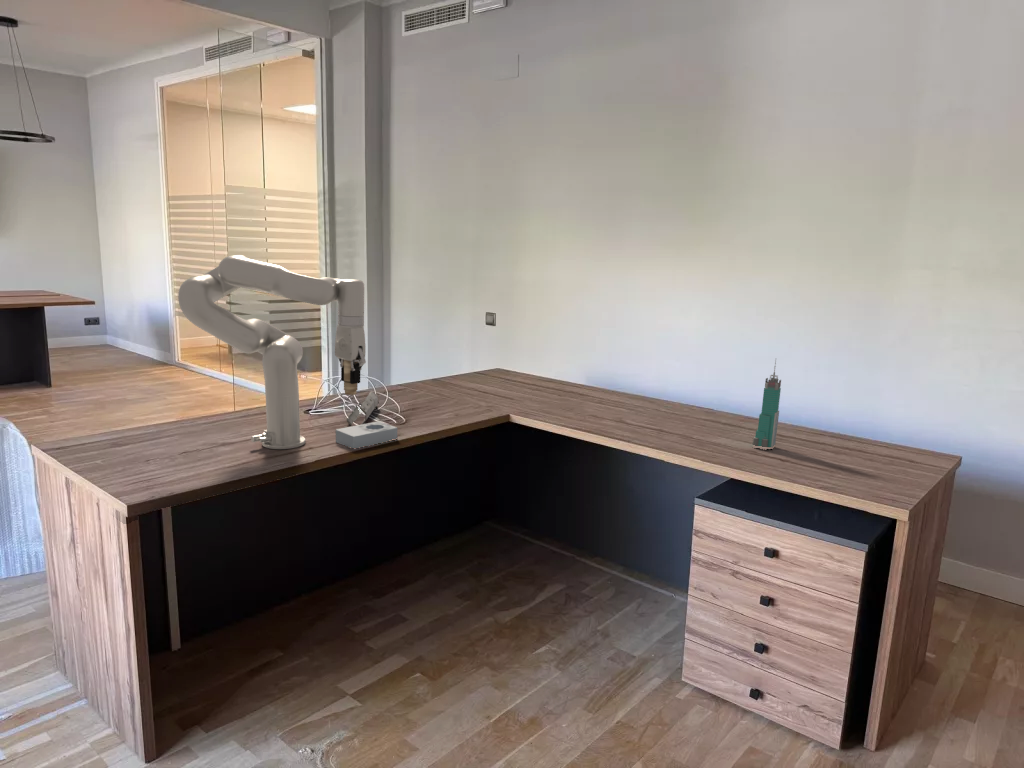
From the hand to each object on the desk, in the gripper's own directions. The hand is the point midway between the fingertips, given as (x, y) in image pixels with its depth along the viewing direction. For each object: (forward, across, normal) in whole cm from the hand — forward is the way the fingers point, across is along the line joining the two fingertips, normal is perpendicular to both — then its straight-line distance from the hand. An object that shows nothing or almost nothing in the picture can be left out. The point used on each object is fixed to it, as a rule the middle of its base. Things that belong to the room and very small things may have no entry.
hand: (350, 381), depth 212 cm
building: (+17, +86, +100) cm, 132 cm away
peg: (+4, 0, 0) cm, 4 cm away
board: (+20, 0, +6) cm, 20 cm away
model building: (+20, -25, +22) cm, 39 cm away
